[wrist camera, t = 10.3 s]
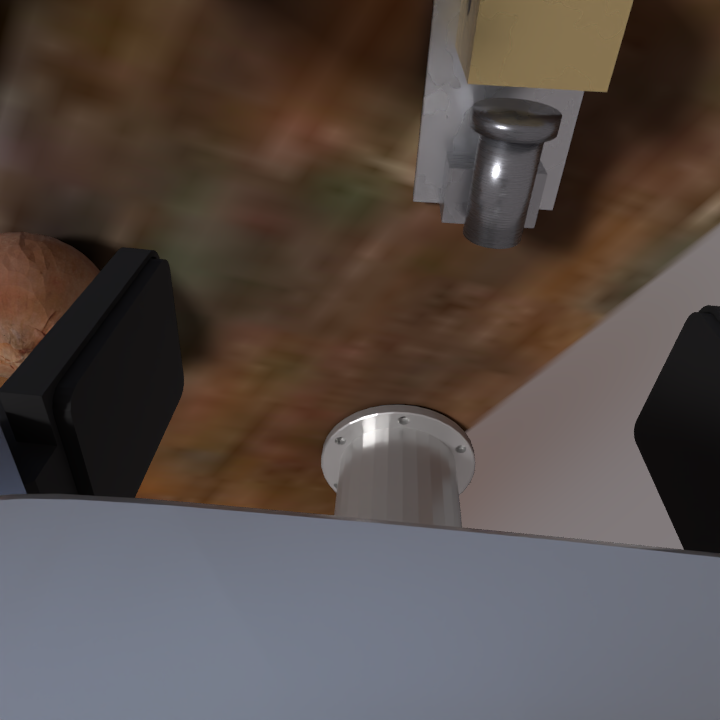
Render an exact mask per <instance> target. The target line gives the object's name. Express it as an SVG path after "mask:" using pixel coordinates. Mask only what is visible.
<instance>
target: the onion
mask: <svg viewBox="0 0 720 720" xmlns="http://www.w3.org/2000/svg"><path fill="white" fill-rule="evenodd" d="M99 272H100V270H99V269H98V268H97V267H96V266H95V265H94V264H93V263H92V262H91V261H90V260H89V259H88V258H87V257H86V256H85V255H84V254H83V253H81V252H80V251H78V250H77V249H75V248H74V247H72V246H70V245H68V244H66V243H64V242H61V241H59V240H58V239H55V238H53V237H49V236H45V235H40V234H31V233H26V232H14V233H2V234H0V376H2V377H6V378H9V377H10V376H11V375H12V374H13V373H14V372H15V370H16V369H17V368H18V367H19V366H20V365H21V363H22V362H23V361H24V360H25V359H26V358H27V356H28V355H29V354H30V353H31V352H32V350H33V349H34V348H35V347H36V346H37V345H38V343H39V342H40V341H41V340H42V339H43V338H44V336H45V335H46V334H47V333H48V332H49V331H50V329H51V328H52V327H53V326H54V325H55V324H56V322H57V321H58V320H59V319H60V318H61V317H62V316H63V315H64V313H65V312H66V311H67V310H68V309H69V307H70V306H71V305H72V304H73V303H74V302H75V300H76V299H77V298H78V297H79V296H80V295H81V293H82V292H83V291H84V290H85V289H86V288H87V286H88V285H89V284H90V283H91V282H92V281H93V279H94V278H95V277H96V276H97V275H98V274H99Z"/></svg>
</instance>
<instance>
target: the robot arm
mask: <svg viewBox="0 0 720 720" xmlns="http://www.w3.org/2000/svg"><path fill="white" fill-rule="evenodd" d="M183 386H184V375H183V368H182V360H181V352H180V344H179V336H178V329H177V321H176V313H175V305H174V297H173V289H172V282H171V274H170V267H169V264H168V261H167V260H163V259H159V256H158V254H157V252H156V251H154V250H144V249H134V248H120V249H119V250H118V251H117V252H116V254H115V255H114V256H113V257H112V258H111V259H110V261H109V262H108V263H107V264H106V265H105V266H104V268H103V269H102V270H101V271H100V272H99V274H98V275H97V276H96V277H95V278H94V279H93V281H92V282H91V283H90V284H89V285H88V286H87V288H86V289H85V290H84V291H83V292H82V293H81V295H80V296H79V297H78V298H77V299H76V300H75V302H74V303H73V304H72V305H71V306H70V307H69V309H68V310H67V311H66V312H65V313H64V315H63V316H62V317H61V318H60V319H59V320H58V321H57V322H56V324H55V325H54V326H53V327H52V328H51V329H50V331H49V332H48V333H47V334H46V335H45V336H44V338H43V339H42V340H41V341H40V342H39V343H38V345H37V346H36V347H35V348H34V349H33V350H32V352H31V353H30V354H29V355H28V356H27V358H26V359H25V360H24V361H23V362H22V363H21V365H20V366H19V367H18V368H17V369H16V370H15V372H14V373H13V374H12V375H11V376H10V377H9V379H8V380H7V381H6V382H5V383H4V384H3V386H2V387H1V388H0V720H720V306H710V305H708V306H705V307H703V308H702V309H701V310H700V311H699V312H694V313H692V314H691V315H690V316H689V317H688V319H687V320H686V322H685V324H684V326H683V328H682V330H681V332H680V334H679V336H678V338H677V340H676V342H675V344H674V346H673V348H672V350H671V352H670V355H669V357H668V358H667V360H666V363H665V364H664V366H663V368H662V371H661V372H660V374H659V376H658V378H657V381H656V382H655V384H654V387H653V388H652V391H651V392H650V395H649V397H648V399H647V401H646V403H645V405H644V407H643V409H642V411H641V413H640V415H639V417H638V419H637V421H636V423H635V428H634V437H635V441H636V444H637V446H638V448H639V450H640V453H641V455H642V457H643V459H644V462H645V464H646V466H647V468H648V470H649V473H650V475H651V477H652V479H653V481H654V484H655V486H656V488H657V490H658V493H659V495H660V497H661V499H662V501H663V504H664V506H665V508H666V510H667V512H668V515H669V517H670V519H671V521H672V523H673V526H674V528H675V530H676V533H677V535H678V537H679V539H680V541H681V544H682V546H683V548H684V550H681V549H670V548H662V547H652V546H642V545H632V544H623V543H613V542H603V541H593V540H582V539H573V538H563V537H553V536H542V535H533V534H522V533H512V532H501V531H492V530H482V529H471V528H462V523H461V513H460V502H459V495H460V494H461V493H462V492H463V491H464V490H465V489H466V487H467V486H468V485H469V483H470V482H471V479H472V477H473V474H474V469H475V457H474V450H473V447H472V444H471V441H470V439H469V438H468V436H467V435H466V433H465V432H464V430H462V429H461V428H460V427H459V426H458V425H457V424H456V423H455V422H453V421H452V420H450V419H449V418H447V417H446V416H444V415H442V414H439V413H437V412H434V411H432V410H429V409H425V408H421V407H417V406H409V405H383V406H378V407H372V408H368V409H365V410H362V411H359V412H356V413H354V414H352V415H351V416H349V417H347V418H345V419H344V420H342V421H341V422H340V423H339V424H337V425H336V426H335V427H334V428H333V429H332V431H331V432H330V433H329V435H328V436H327V438H326V441H325V443H324V445H323V451H322V457H321V467H322V470H323V474H324V477H325V479H326V480H327V482H328V484H329V485H330V486H331V487H332V489H333V490H334V491H335V492H336V493H337V495H336V505H335V514H334V515H323V514H312V513H301V512H290V511H279V510H268V509H257V508H246V507H235V506H224V505H213V504H202V503H190V502H178V501H167V500H155V499H143V498H135V496H136V494H137V492H138V489H139V487H140V485H141V483H142V481H143V478H144V476H145V474H146V472H147V470H148V468H149V465H150V463H151V461H152V459H153V457H154V455H155V452H156V450H157V448H158V446H159V444H160V442H161V439H162V437H163V435H164V433H165V431H166V428H167V426H168V424H169V422H170V420H171V418H172V415H173V413H174V411H175V409H176V407H177V405H178V402H179V400H180V398H181V395H182V392H183Z"/></svg>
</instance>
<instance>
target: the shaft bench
mask: <svg viewBox="0 0 720 720" xmlns="http://www.w3.org/2000/svg"><path fill="white" fill-rule="evenodd" d="M460 4H461V0H433V9H432V19H431V28H430V38H429V48H428V57H427V67H426V76H425V86H424V95H423V105H422V114H421V124H420V133H419V143H418V152H417V162H416V172H415V181H414V191H413V201H416V202H432V203H439V204H440V212H441V220H442V222H444V223H460V224H464V228H463V234H464V236H465V237H466V238H467V239H468V240H469V241H471V242H472V243H474V244H477V245H479V246H483V247H487V248H495V249H504V248H510V247H514V246H516V245H517V244H519V243H520V241H521V238H522V233H523V229H524V228H534V226H535V222H536V218H537V214H538V210H539V209H542V210H553V207H554V203H555V199H556V195H557V192H558V188H559V184H560V180H561V176H562V173H563V169H564V165H565V161H566V158H567V154H568V150H569V146H570V143H571V139H572V135H573V131H574V128H575V124H576V120H577V116H578V113H579V109H580V105H581V101H582V98H583V94H584V91H578V90H561V89H544V88H527V87H510V86H493V85H476V84H468V83H467V80H466V77H465V74H464V71H463V69H462V66H461V63H460V60H459V57H458V54H457V51H456V48H455V43H456V35H457V28H458V20H459V12H460Z"/></svg>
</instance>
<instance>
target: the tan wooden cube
mask: <svg viewBox="0 0 720 720" xmlns="http://www.w3.org/2000/svg"><path fill="white" fill-rule="evenodd" d="M632 4H633V0H461V4H460V12H459V20H458V28H457V35H456V43H455V48H456V51H457V54H458V57H459V60H460V63H461V66H462V69H463V71H464V74H465V77H466V80H467V83H468V84H476V85H493V86H510V87H527V88H544V89H561V90H578V91H595V92H607V90H608V87H609V83H610V80H611V76H612V73H613V69H614V66H615V63H616V59H617V56H618V52H619V49H620V45H621V42H622V38H623V35H624V31H625V28H626V24H627V21H628V17H629V14H630V11H631V7H632Z"/></svg>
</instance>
